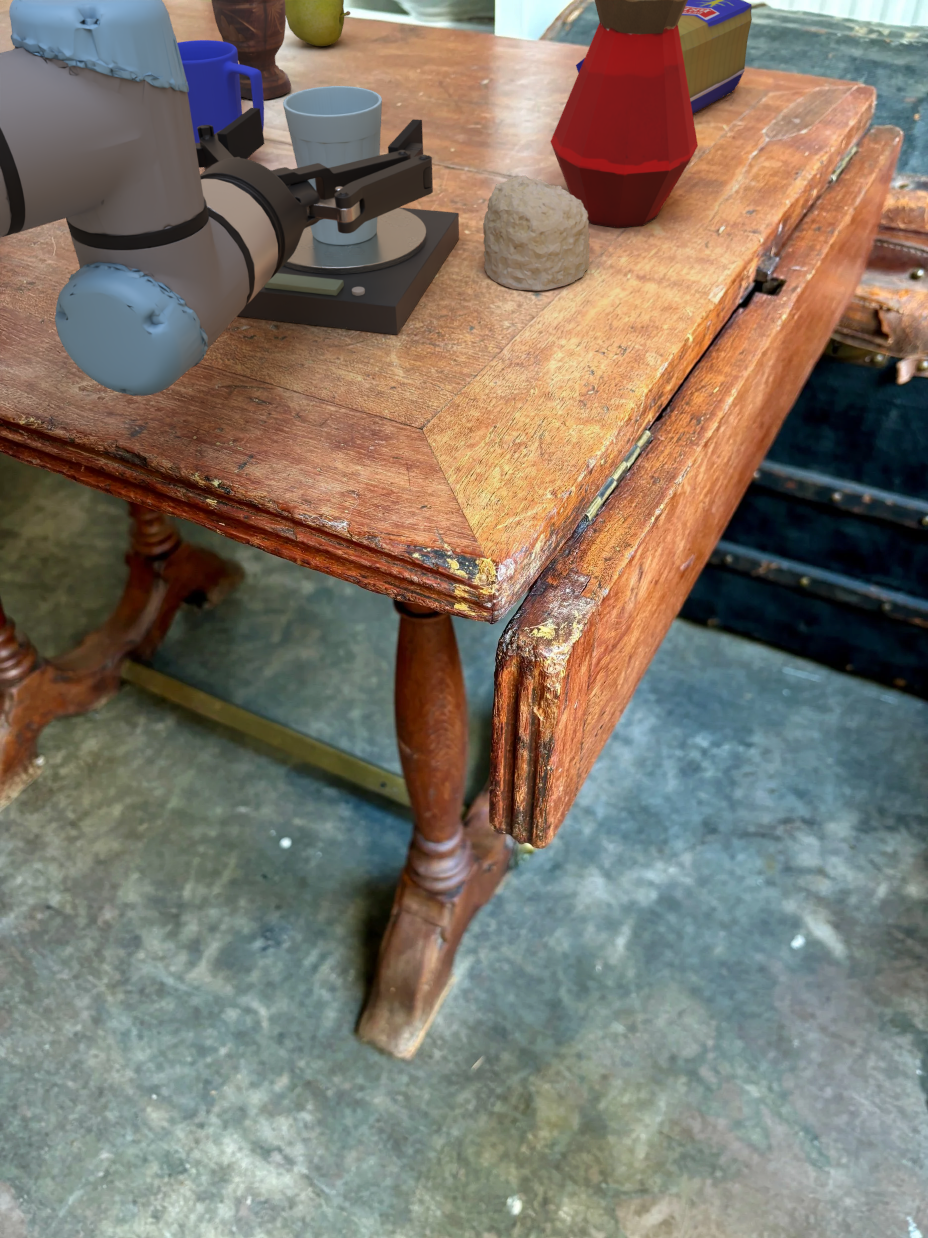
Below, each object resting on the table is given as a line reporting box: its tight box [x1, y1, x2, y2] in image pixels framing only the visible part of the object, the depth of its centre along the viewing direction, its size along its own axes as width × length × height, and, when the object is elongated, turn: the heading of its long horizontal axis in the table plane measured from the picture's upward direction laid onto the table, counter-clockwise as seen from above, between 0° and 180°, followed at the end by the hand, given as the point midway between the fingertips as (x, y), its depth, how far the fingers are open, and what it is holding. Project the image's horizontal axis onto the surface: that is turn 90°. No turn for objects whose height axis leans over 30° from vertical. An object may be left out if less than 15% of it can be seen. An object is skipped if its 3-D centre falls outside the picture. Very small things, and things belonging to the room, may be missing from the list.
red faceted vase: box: [550, 0, 699, 229], centre depth 89 cm, size 16×14×20 cm
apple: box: [285, 0, 351, 47], centre depth 137 cm, size 8×9×8 cm
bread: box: [575, 0, 753, 115], centre depth 114 cm, size 10×25×10 cm, turn 143°
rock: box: [482, 174, 591, 292], centre depth 84 cm, size 9×10×10 cm
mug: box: [177, 39, 265, 143], centre depth 104 cm, size 8×12×10 cm
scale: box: [237, 207, 460, 336], centre depth 85 cm, size 16×19×3 cm
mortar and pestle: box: [211, 0, 292, 100], centre depth 116 cm, size 12×9×20 cm
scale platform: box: [283, 207, 427, 274], centre depth 85 cm, size 14×14×1 cm
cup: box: [282, 85, 383, 245], centre depth 81 cm, size 8×8×10 cm
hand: (336, 131), depth 80 cm, fingers open, 13 cm apart
